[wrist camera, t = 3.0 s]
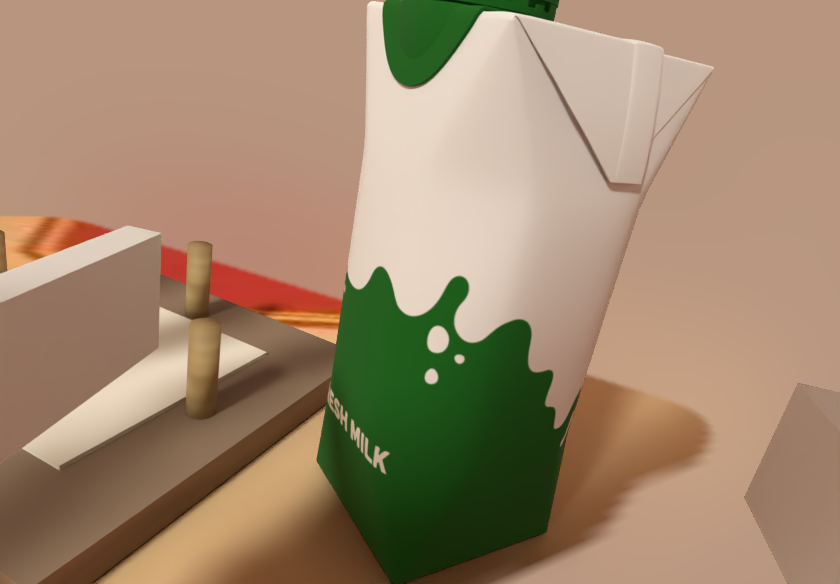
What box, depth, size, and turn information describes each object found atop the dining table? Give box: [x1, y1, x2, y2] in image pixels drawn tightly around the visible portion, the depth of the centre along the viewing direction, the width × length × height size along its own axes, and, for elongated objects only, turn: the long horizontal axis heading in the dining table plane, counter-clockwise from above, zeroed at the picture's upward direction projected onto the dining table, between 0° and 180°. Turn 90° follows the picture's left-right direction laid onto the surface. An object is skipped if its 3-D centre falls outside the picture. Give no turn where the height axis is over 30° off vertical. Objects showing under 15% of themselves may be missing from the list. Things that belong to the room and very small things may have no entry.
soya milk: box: [317, 0, 714, 584], centre depth 21 cm, size 9×9×20 cm
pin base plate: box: [0, 230, 336, 584], centre depth 27 cm, size 18×18×6 cm
